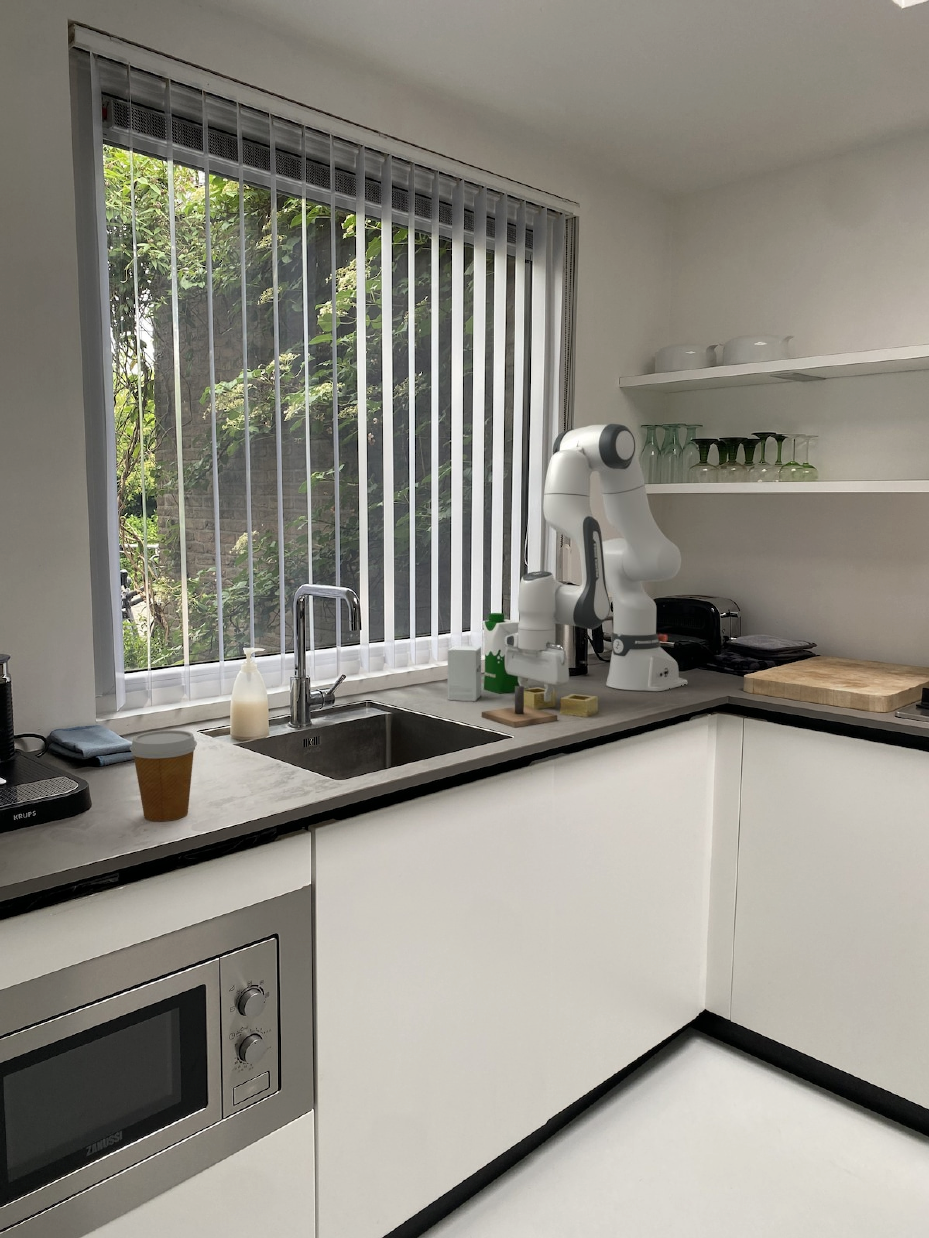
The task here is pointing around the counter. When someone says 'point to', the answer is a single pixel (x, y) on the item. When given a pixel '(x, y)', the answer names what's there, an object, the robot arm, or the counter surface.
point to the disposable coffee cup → (164, 772)
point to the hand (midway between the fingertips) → (535, 698)
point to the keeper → (519, 713)
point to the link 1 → (537, 698)
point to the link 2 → (579, 705)
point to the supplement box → (464, 673)
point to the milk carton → (498, 653)
